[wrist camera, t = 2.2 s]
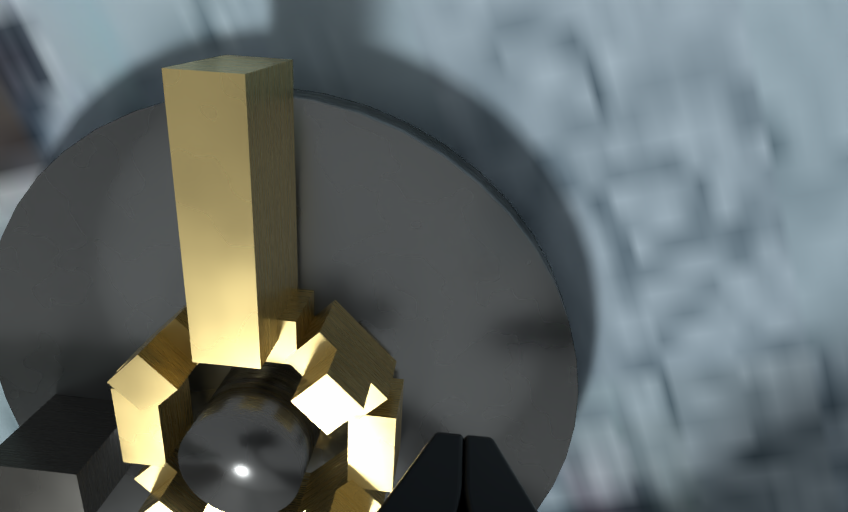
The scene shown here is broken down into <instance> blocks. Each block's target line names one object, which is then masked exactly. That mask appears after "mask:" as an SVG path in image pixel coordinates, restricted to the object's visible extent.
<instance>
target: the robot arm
mask: <svg viewBox="0 0 848 512" xmlns="http://www.w3.org/2000/svg"><path fill="white" fill-rule="evenodd" d="M377 512H538V511H537V510H536V508H535V506H534V505H533V503H532V501H531V500H530V498H529V496H528V495H527V493H526V492H525V490H524V488H523V487H522V485H521V483H520V482H519V480H518V479H517V477H516V475H515V474H514V472H513V470H512V469H511V467H510V466H509V464H508V462H507V461H506V459H505V457H504V456H503V454H502V452H501V451H500V449H499V448H498V446H497V444H496V443H495V441H494V440H493V439H492V438H491V437H485V436H476V435H467V436H465V438H463V436H462V435H461V434H456V433H447V432H437V433H435V434H434V435H433V436H432V438H431V439H430V441H429V442H428V443H427V445H426V446H425V447H424V449H423V450H422V451H421V453H420V454H419V455H418V457H417V458H416V459H415V461H414V462H413V464H412V465H411V466H410V468H409V469H408V470H407V472H406V473H405V474H404V476H403V477H402V478H401V480H400V481H399V483H398V484H397V485H396V487H395V488H394V489H393V491H392V492H391V493H390V495H389V496H388V497H387V499H386V500H385V501H384V503H383V504H382V506H381V507H380V508H379V510H378V511H377Z"/></svg>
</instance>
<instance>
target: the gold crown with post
mask: <svg viewBox="0 0 848 512" xmlns="http://www.w3.org/2000/svg"><path fill="white" fill-rule="evenodd" d="M162 77H163V87H164V96H165V106H166V115H167V125H168V134H169V144H170V153H171V163H172V172H173V182H174V191H175V201H176V210H177V220H178V229H179V238H180V248H181V257H182V267H183V276H184V286H185V295H186V305H185V306H184V307H183V308H181V309H180V310H179V311H178V312H177V313H176V314H175V315H174V316H173V317H172V318H170V319H169V320H168V321H167V322H166V323H165V324H164V325H163V326H162V327H160V328H159V329H158V330H157V331H156V332H155V333H154V334H153V335H152V336H150V337H149V339H148V340H147V341H146V342H145V343H144V344H143V345H142V346H141V347H140V348H139V349H138V350H137V351H136V352H135V353H134V354H133V355H132V356H131V357H130V358H129V359H128V360H127V361H126V362H125V363H124V364H123V365H122V366H121V367H120V368H119V369H118V370H117V373H116V374H115V375H114V376H113V377H112V378H111V379H110V380H109V381H108V382H107V383H108V384H110V385H111V386H112V388H111V393H112V399H113V405H114V410H115V416H116V422H117V428H118V434H119V440H120V445H121V451H122V457H123V462H126V463H135V464H144V466H143V467H142V469H141V470H140V472H139V473H138V474H137V476H136V477H135V478H134V479H135V480H136V481H137V482H138V483H140V484H141V485H142V486H143V487H145V488H146V489H147V490H148V491H149V492H151V493H150V495H149V496H148V497H147V499H146V500H145V502H144V503H143V505H142V506H141V508H140V509H139V511H138V512H223V511H220V510H218V509H216V508H214V507H212V506H210V505H209V504H207V503H205V502H204V501H203V500H201V499H200V498H199V497H198V496H197V495H196V494H195V493H194V492H193V491H192V490H191V489H190V488H189V486H188V485H187V484H186V482H185V480H184V479H183V477H182V474H181V472H180V469H179V464H178V451H179V447H180V444H181V442H182V440H183V438H184V437H185V435H186V434H187V432H188V431H189V429H190V428H191V426H192V425H193V423H194V422H193V414H192V405H191V396H190V387H189V378H188V376H189V374H190V373H191V372H192V370H193V369H194V368H195V367H196V365H197V364H199V363H207V364H217V365H227V366H237V367H247V368H257V369H261V368H262V366H263V364H264V363H265V362H272V363H282V364H291V365H292V366H293V367H294V368H295V369H296V370H297V371H298V372H299V373H300V374H301V375H302V379H301V381H300V383H299V385H298V387H297V389H296V391H295V393H294V395H293V397H292V400H291V402H292V403H293V404H294V405H295V406H296V407H297V408H298V409H299V410H301V411H302V412H303V413H304V414H305V415H306V416H307V417H308V418H309V419H310V420H311V421H312V422H314V423H315V424H316V425H317V426H318V427H319V428H320V429H321V430H322V431H323V432H324V433H326V434H327V435H328V434H329V433H331V432H332V431H333V430H335V429H336V428H338V427H339V426H340V425H342V424H343V423H345V422H346V421H347V420H348V448H346V449H345V450H343V451H342V452H341V453H339V454H338V455H336V456H335V457H333V458H332V459H330V460H329V461H328V462H326V463H325V464H323V465H322V466H320V467H319V468H317V469H316V470H314V471H313V472H312V473H308V472H305V475H304V478H303V480H302V483H301V486H300V488H299V491H298V493H297V495H296V497H295V498H294V500H293V501H292V502H291V503H290V504H289V505H287V506H286V507H285V508H283V509H282V510H280V511H278V512H376V511H378V510H379V508H380V507H381V506H382V504H383V503H384V499H385V494H386V492H392V490H393V485H394V479H395V474H396V468H397V463H398V457H399V452H400V441H401V423H402V405H403V387H404V379H397V378H393V375H394V370H395V366H396V362H397V361H396V360H395V359H394V358H393V357H392V356H391V355H390V354H389V353H388V352H387V351H386V350H385V349H384V348H383V347H382V346H381V345H380V344H379V343H378V342H377V341H376V340H375V339H374V338H373V337H372V336H371V335H370V334H369V333H368V332H367V331H366V330H365V329H364V328H363V327H362V326H361V325H360V324H359V323H358V322H357V321H356V320H355V319H354V318H353V317H352V316H351V315H350V314H349V313H348V312H347V311H346V310H345V309H344V308H343V307H342V306H341V305H340V304H339V303H338V302H337V301H336V300H334V301H333V302H332V303H331V304H330V305H328V306H327V307H326V308H325V309H323V310H322V311H321V312H320V313H318V314H317V315H316V316H315V314H314V290H308V289H298V262H297V220H296V178H295V136H294V93H293V60H291V59H277V58H263V57H249V56H235V55H222V56H218V57H213V58H208V59H203V60H198V61H193V62H188V63H183V64H179V65H174V66H169V67H164V68H162Z"/></svg>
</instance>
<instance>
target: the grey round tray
mask: <svg viewBox="0 0 848 512" xmlns="http://www.w3.org/2000/svg"><path fill="white" fill-rule="evenodd" d="M293 93H294V136H295V178H296V220H297V262H298V289H308V290H314V314H315V316H316V315H317V314H318V313H320V312H321V311H322V310H323V309H325V308H326V307H327V306H328V305H330V304H331V303H332V302H333V301H334V300H336V301H337V302H338V303H339V304H340V305H341V306H342V307H343V308H344V309H345V310H346V311H347V312H348V313H349V314H350V315H351V316H352V317H353V318H354V319H355V320H356V321H357V322H358V323H359V324H360V325H361V326H362V327H363V328H364V329H365V330H366V331H367V332H368V333H369V334H370V335H371V336H372V337H373V338H374V339H375V340H376V341H377V342H378V343H379V344H380V345H381V346H382V347H383V348H384V349H385V350H386V351H387V352H388V353H389V354H390V355H391V356H392V357H393V358H394V359H395V360H396V361H397V362H396V366H395V370H394V375H393V378H397V379H404V387H403V405H402V423H401V441H400V452H399V457H398V463H397V468H396V474H395V479H394V485H393V489H394V488H395V487H396V485H397V484H398V483H399V481H400V480H401V478H402V477H403V476H404V474H405V473H406V472H407V470H408V469H409V468H410V466H411V465H412V464H413V462H414V461H415V459H416V458H417V457H418V455H419V454H420V453H421V451H422V450H423V449H424V447H425V446H426V445H427V443H428V442H429V441H430V439H431V438H432V436H433V435H434V434H435V433H437V432H447V433H456V434H461V435H462V436H463V438H465V436H467V435H476V436H485V437H491V438H492V439H493V440H494V441H495V443H496V444H497V446H498V448H499V449H500V451H501V452H502V454H503V456H504V457H505V459H506V461H507V462H508V464H509V466H510V467H511V469H512V470H513V472H514V474H515V475H516V477H517V479H518V480H519V482H520V483H521V485H522V487H523V488H524V490H525V492H526V493H527V495H528V496H529V498H530V500H531V501H532V503H533V505H534V506H535V508H536V510H537V509H538V508H539V506H540V505H541V503H542V502H543V500H544V499H545V497H546V496H547V494H548V493H549V491H550V490H551V488H552V487H553V485H554V483H555V480H556V478H557V476H558V474H559V472H560V469H561V467H562V465H563V463H564V461H565V459H566V456H567V452H568V448H569V445H570V441H571V438H572V434H573V431H574V427H575V418H576V409H577V400H578V379H577V359H576V354H575V349H574V344H573V340H572V335H571V330H570V325H569V321H568V317H567V314H566V310H565V307H564V303H563V300H562V297H561V294H560V292H559V289H558V286H557V284H556V281H555V278H554V275H553V273H552V270H551V267H550V265H549V264H548V262H547V260H546V258H545V256H544V254H543V253H542V251H541V249H540V247H539V245H538V243H537V242H536V240H535V238H534V236H533V234H532V233H531V231H530V230H529V229H528V227H527V226H526V225H525V223H524V222H523V221H522V219H521V218H520V217H519V215H518V214H517V212H516V211H515V210H514V208H513V207H512V206H511V204H510V203H509V202H508V201H507V200H506V199H505V198H504V197H503V196H502V194H501V193H500V192H499V191H498V190H497V189H496V188H495V187H494V186H493V185H492V184H491V183H490V182H489V181H488V180H487V179H486V178H485V177H484V176H483V175H482V174H481V173H480V172H479V171H478V170H476V169H475V168H474V167H473V166H471V165H470V164H469V163H467V162H466V161H465V160H464V159H462V158H461V157H460V156H458V155H457V154H456V153H455V152H453V151H452V150H451V149H450V148H448V147H447V146H446V145H444V144H442V143H441V142H439V141H437V140H436V139H434V138H432V137H431V136H429V135H427V134H425V133H424V132H422V131H420V130H419V129H417V128H415V127H414V126H412V125H410V124H409V123H407V122H404V121H402V120H399V119H397V118H395V117H392V116H390V115H388V114H385V113H383V112H381V111H378V110H376V109H374V108H371V107H369V106H367V105H363V104H360V103H356V102H352V101H349V100H345V99H342V98H338V97H335V96H331V95H328V94H324V93H317V92H310V91H303V90H296V89H293ZM185 305H186V295H185V286H184V276H183V267H182V257H181V248H180V238H179V229H178V220H177V210H176V201H175V191H174V182H173V172H172V163H171V153H170V144H169V134H168V125H167V115H166V106H165V102H164V103H160V104H157V105H154V106H150V107H147V108H144V109H141V110H138V111H135V112H132V113H130V114H128V115H126V116H123V117H121V118H119V119H117V120H115V121H113V122H111V123H108V124H106V125H104V126H102V127H100V128H98V129H96V130H94V131H93V132H91V133H90V134H89V135H87V136H86V137H84V138H83V139H81V140H80V141H78V142H77V143H75V144H74V145H73V146H71V147H70V148H68V149H67V150H65V151H64V152H63V153H62V154H61V155H60V156H59V157H58V158H57V159H56V160H55V161H54V162H53V163H52V164H51V165H49V166H48V167H47V168H46V169H45V170H44V171H43V172H42V173H41V174H40V175H39V176H38V177H37V179H36V180H35V181H34V183H33V184H32V186H31V187H30V188H29V190H28V191H27V192H26V194H25V195H24V197H23V198H22V199H21V201H20V202H19V203H18V205H17V206H16V209H15V211H14V213H13V215H12V217H11V219H10V221H9V223H8V225H7V227H6V229H5V231H4V233H3V235H2V238H1V241H0V382H1V385H2V388H3V391H4V394H5V397H6V399H7V401H8V404H9V406H10V408H11V410H12V412H13V414H14V416H15V418H16V420H17V423H18V425H19V428H18V429H17V430H16V431H15V432H14V433H13V434H12V435H10V436H9V437H8V438H7V439H6V440H5V441H4V442H3V443H2V444H1V445H0V512H138V511H139V509H140V508H141V506H142V505H143V503H144V502H145V500H146V499H147V497H148V496H149V495H150V493H151V492H149V491H148V490H147V489H146V488H145V487H143V486H142V485H141V484H140V483H138V482H137V481H136V480H135V479H134V478H135V477H136V476H137V474H138V473H139V472H140V470H141V469H142V467H143V466H144V464H135V463H126V462H123V457H122V451H121V445H120V440H119V434H118V428H117V422H116V416H115V410H114V405H113V399H112V393H111V388H112V386H111V385H110V384H108V383H107V382H108V381H109V380H110V379H111V378H112V377H113V376H114V375H115V374H116V373H117V370H118V369H119V368H120V367H121V366H122V365H123V364H124V363H125V362H126V361H127V360H128V359H129V358H130V357H131V356H132V355H133V354H134V353H135V352H136V351H137V350H138V349H139V348H140V347H141V346H142V345H143V344H144V343H145V342H146V341H147V340H148V339H149V337H150V336H152V335H153V334H154V333H155V332H156V331H157V330H158V329H159V328H160V327H162V326H163V325H164V324H165V323H166V322H167V321H168V320H169V319H170V318H172V317H173V316H174V315H175V314H176V313H177V312H178V311H179V310H180V309H181V308H183V307H184V306H185ZM188 378H189V387H190V396H191V405H192V414H193V422H194V423H193V425H192V426H191V428H190V429H189V431H188V432H187V434H186V435H185V437H184V438H183V440H182V442H181V444H180V447H179V451H178V464H179V469H180V472H181V474H182V477H183V479H184V480H185V482H186V484H187V485H188V486H189V488H190V489H191V490H192V491H193V492H194V493H195V494H196V495H197V496H198V497H199V498H200V499H201V500H203V501H204V502H205V503H207V504H209V505H210V506H212V507H214V508H216V509H218V510H220V511H223V512H278V511H280V510H282V509H283V508H285V507H286V506H287V505H289V504H290V503H291V502H292V501H293V500H294V498H295V497H296V495H297V493H298V491H299V488H300V486H301V483H302V480H303V478H304V475H305V472H308V473H312V472H313V471H314V470H316V469H317V468H319V467H320V466H322V465H323V464H325V463H326V462H328V461H329V460H330V459H332V458H333V457H335V456H336V455H338V454H339V453H341V452H342V451H343V450H345V449H346V448H348V420H347V421H346V422H345V423H343V424H342V425H340V426H339V427H338V428H336V429H335V430H333V431H332V432H331V433H329V434H328V435H327V434H326V433H324V432H323V431H322V430H321V429H320V428H319V427H318V426H317V425H316V424H315V423H314V422H312V421H311V420H310V419H309V418H308V417H307V416H306V415H305V414H304V413H303V412H302V411H301V410H299V409H298V408H297V407H296V406H295V405H294V404H293V403H292V402H291V400H292V397H293V395H294V393H295V391H296V389H297V387H298V385H299V383H300V381H301V379H302V375H301V374H300V373H299V372H298V371H297V370H296V369H295V368H294V367H293V366H292V365H291V364H282V363H272V362H265V363H264V364H263V366H262V368H261V369H257V368H247V367H237V366H227V365H217V364H207V363H199V364H197V365H196V367H195V368H194V369H193V370H192V372H191V373H190V374H189V376H188ZM392 491H393V490H392ZM390 493H391V492H386V494H385V499H384V501H385V500H386V499H387V497H388V496H389V495H390ZM376 512H377V511H376Z"/></svg>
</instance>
